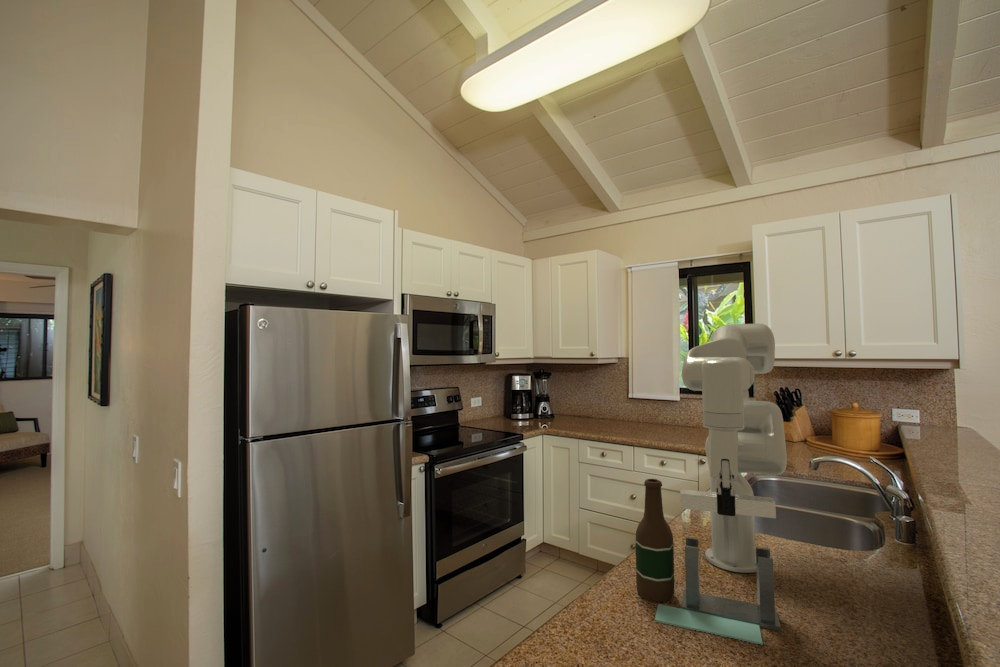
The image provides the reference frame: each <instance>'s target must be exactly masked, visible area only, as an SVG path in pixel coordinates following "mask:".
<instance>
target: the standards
mask: <svg viewBox="0 0 1000 667" xmlns="http://www.w3.org/2000/svg"><path fill="white" fill-rule="evenodd" d="M699 546H700V545H699V538H698V537H691V536H685V545H684V562H685V563H684V567H685V573H684V574H685V589H683V591H682V602H681V609H686V610H690V611H695V612H700V613H705V614H710V615H715V616H719V617H724V618H729V619H734V620H739V621H744V622H748V623H753V624H758V625H759V626H760V628H762V629H767V630H773V631H776V632H777V631H778V632H782V627H781V623H780V619H779V616H778V612H777V608H776V607H775V578H774V577H775V575H774V574H775V573H774V559H773V558H772V557H771V549H770V548H768V547H760V546H755V554H756V571H757V572H756V594H757V595H756V597H757V598H756V600H757V601H756V602H757V603H752V602H748V601H742V600H738V599H734V598H733V599H732V598H726V597H722V596H717V595H712V594H706V593H701V591H700V588H701V587H700V557H699V556H700V554H699V553H700V550H699Z"/></svg>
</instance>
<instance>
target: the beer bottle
mask: <svg viewBox="0 0 1000 667" xmlns="http://www.w3.org/2000/svg"><path fill="white" fill-rule="evenodd" d="M643 485H644V486H645V489H644V493H645V494H644V509H643V510H644V511H643V517H642V519H641V520H640V521H639V523H638V525H637V528H636V531H635V576H636V579H635V582H636V591H637V594H639V595H640V596H641V597H642V598H643V600H647V601H650V602H653V603H657V604H660V603H668V602H667V601H670V602H671V601H672V598H673V597H674V595H675V553H674V550H675V549H674V534H673V531H672V529H671V527H670V525H669V524H668V522H667V521H666V519H665V515H664V508H663V499H662V498H663V497H662V495H663V494H662V486H663V482H662V481H661V480H659V479H657V478H647V479H645V481H644V483H643Z"/></svg>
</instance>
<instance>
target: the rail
mask: <svg viewBox="0 0 1000 667" xmlns="http://www.w3.org/2000/svg"><path fill="white" fill-rule="evenodd" d="M734 495H735V514H739V515H749V516H754V517H760V518H770V519H777V509H776V507H777V506H776V501H775V497H770V496H769V497H768V496H758V495H753V496H749V495H738V494H734ZM679 499H680V509H684V510H685V509H686V510H695V511H702V512H710V513H711V512H717V493H716V492H710V491H703V490H693V489H682V488H681V489H680V492H679Z"/></svg>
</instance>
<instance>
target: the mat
mask: <svg viewBox="0 0 1000 667" xmlns="http://www.w3.org/2000/svg"><path fill="white" fill-rule="evenodd" d="M654 622H655V623H658V624H659V623H660V624H663V625H668V624H669V625H668V626H672V625H673V626H672V627H677V626H678V628H683V629H686V630H690V629H691V631H695V630H696V631H695V632H699V631H702V632H701V633H704V632H706V633H705V634H708V633H711V634H710V635H713V634H715V635H714V636H717V635H720V636H719V637H722V636H725V637H724V638H726V637H729V638H728V639H731V638H735V639H739V640H738V641H740V640H743V641H742V642H744V641H747V642H746V643H749V642H752V643H751V644H753V643H756V644H755V645H758V644H761V645H760V646H762V645H763V638H762V633H761V627H760V626H759V625H758V624H753V623H748V622H744V621H739V620H734V619H729V618H724V617H719V616H715V615H710V614H705V613H700V612H695V611H690V610H686V609H682V607H681V608H680V607H675V606H669V605H666V604H660V603H657V609H656V613H655V618H654ZM735 639H734V640H735Z"/></svg>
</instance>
